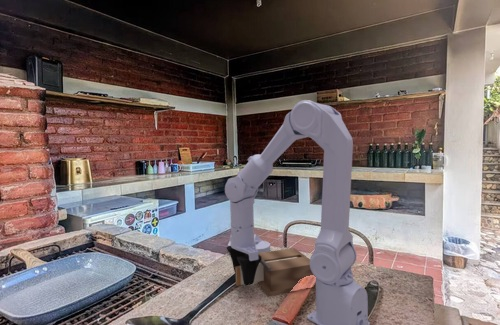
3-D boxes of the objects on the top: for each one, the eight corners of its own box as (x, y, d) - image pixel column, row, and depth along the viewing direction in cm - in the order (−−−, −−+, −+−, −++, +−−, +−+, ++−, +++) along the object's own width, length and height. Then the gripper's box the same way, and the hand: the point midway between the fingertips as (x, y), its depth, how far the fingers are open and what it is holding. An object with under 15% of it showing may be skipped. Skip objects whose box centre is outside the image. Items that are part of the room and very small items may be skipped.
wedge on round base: (227, 255, 94) (263, 261, 88) (227, 235, 93) (263, 240, 88) (240, 246, 102) (274, 251, 96) (240, 228, 101) (274, 232, 96)
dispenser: (294, 268, 82) (294, 245, 82) (316, 287, 71) (315, 260, 71) (251, 275, 78) (251, 251, 78) (267, 296, 67) (267, 268, 67)
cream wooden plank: (297, 273, 76) (296, 257, 76) (298, 274, 75) (298, 258, 75) (235, 283, 71) (235, 266, 71) (236, 285, 70) (236, 268, 70)
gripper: (269, 230, 65) (271, 288, 66) (246, 217, 79) (247, 265, 80) (241, 234, 63) (242, 294, 63) (222, 220, 76) (223, 269, 77)
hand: (243, 278), depth 71 cm, fingers open, 6 cm apart
